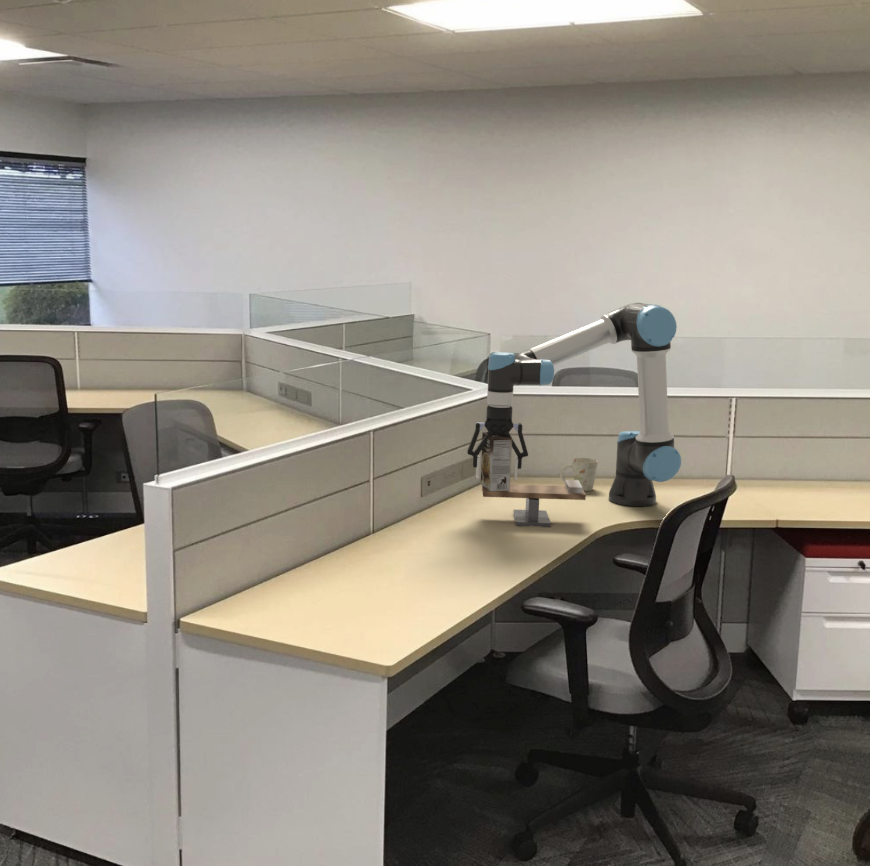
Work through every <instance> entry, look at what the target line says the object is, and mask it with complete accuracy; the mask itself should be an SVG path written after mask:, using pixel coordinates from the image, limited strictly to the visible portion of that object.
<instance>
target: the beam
mask: <svg viewBox="0 0 870 866" xmlns="http://www.w3.org/2000/svg"><path fill="white" fill-rule="evenodd" d="M481 491H482V497H483V498H507V499H508V498H510V499H511V498H512V499H513V498H514V499H526V498H536V499H539V500H541V499H542V500H543V499H545V500H567V501H568V500H571V501H572V500H575V501H586V497H587V494H586V491H583V489H582V486H581V484H580V482H579V480H574V479H566V480H565V482H564V485H550V484H549V485H546V484H544V485H543V484H514V483H513V484H511V483H510V490H509V491H492V492H491V491H489V490H488V489H486V488H485V487H484V486H482V485H481Z"/></svg>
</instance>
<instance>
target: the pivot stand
mask: <svg viewBox="0 0 870 866" xmlns="http://www.w3.org/2000/svg"><path fill="white" fill-rule="evenodd" d="M512 512H513V513H514V514H513V518H514V521H515V526H516V527H529V526H541V527H540V528H551V525H552V522H551V521H550V517H549V514H548V512H547V510H542V509H541V510H540V499H536V498H525V509H513V511H512Z"/></svg>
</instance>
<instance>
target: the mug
mask: <svg viewBox="0 0 870 866" xmlns="http://www.w3.org/2000/svg"><path fill="white" fill-rule="evenodd" d="M598 464H599V461H598V460H597V459H595V458H590V457H576V458H573V459H572V464H571V463H570V464H569V463H568V464H565V465H564V464H563V466H562V467H561V469H560V470H559V477H560V479H561V481H562V482H563V483H565V480H567V479H566V478H565V476H564V472H565V470H566V469H573V471H572V472H573V480H579V482H580V484H581V486H582V489H583V491H584V492H590V491H593V489H594V484H595V479H596V473H597V469H598V468H597V467H598Z"/></svg>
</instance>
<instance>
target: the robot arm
mask: <svg viewBox="0 0 870 866" xmlns="http://www.w3.org/2000/svg"><path fill="white" fill-rule="evenodd" d="M676 333H677V321H676V318H675V316H674V314H673V313H672V312H671V311H670V310H669V309H668V308H665V307H663V306H661V305H659V304H658V305H657V304H651V303H650V304H649V303H642V302H633V303H630V304H626V305H624V306H621V307H619V308H616V309H614V310H612V311H610V312H608V313H607V312H606V313H605V314H603V315H601V316H600V319H599V320H597V321H594V322H591V323H590V324H587V325H584V326H582V327H580V328H578V329H576V330H572V331H570V332H568V333H565V334H563V335H561V336H558V337H555V338H553V339H551V340H548V341H546V342H544V343H541V344H539V345H536V346H533V347H531V348H529V349H527V350H524V351H521V352H506V351H495V352H492V353H490V355H489V359H488V364H487V365H488V367H487V370H488V371H487V373H488V374H487V392H486V393H487V395H486V396H487V397H486V404H487V406H486V418H485V421H484V422H479V421H476V422H475V430H474V432H473V435H472V438H471V440H470V443H469V445H468V448H467V451H466V452H467V455H470V456H471V457H472V466H473V468H476V473H475V474H476V475H475V477H476V480H480V469H481V465H480V464H481V463H480V462H481V457H480V453H482V449H483V447H484V446H485V444H486V443H487V438H488V436H492V435H498V436H506V437H511V438H512V449H513V451H514V453H515V455H516V456H514V467H513V468H514V469H513V479H514V481H518V470H520V469H522V463H523V462H522V461H523V460H522V459H523V458H524V457H526V458H527V457H528V456H529V451H528V449H527V446H526V441H525V439H524V435H523V424H522V423H521V422H518V423H514V422H513V407H512V406H513V404H514V386H547V385H550V384H551V383H553V380H554V377H555V367H554V366H555V365H558V364H560V363H562V362H565V361H567V360H570V359H572V358H575V357H577V356H579V355H580V356H581V355H582V354H584V353H587V352H589V351H591V350H594V349H597V348H599V347H602V346H604V345H607V344H612V345H615V344H617V343H621V342H623V341H624V342H625V341H630V343H631V347H630V348H631V352H632V353H633V354H634V355H635V356H636V364H637V365H636V367H637V368H636V369H637V388H638V392H637V393H638V409H639V411H638V413H639V430H627V431H626V430H625V431H620V432H619V434H618V437H617V442H616V443H617V446H616V449H617V450H616V463H615V476H614V479H613V482H612V484H611V487H610V489H609V492H608V501H610V502H611V503H614V504H617V505H621V506H628V507H650V506H653V505H655V504H656V502H657V493H656V490H655V486H654V482H657V483H662V482H663V483H664V482H667V481H670V480H672V479H673V478H674V477H675V476H676V474H678V473H679V471H680V469H681V465H682V456H681V454H680V452H679V451H678V450H677V449H676V448H675V436H674V434H672V433H671V432H670V430H669V408H668V405H669V404H668V380H667V378H668V377H667V353H669V351H670V350H671V342H672V341H673V339H674V338H675V336H676ZM484 427H485V429H486V432H487V433H486V434H487V435H486V436H485V437H484V438H483V440H482V439H481V441H480V443H478V445H477V446H476V442H477V440H478V438H479V435H480V433H481V431H482V430H483V428H484ZM512 429H515V432H517V434H518V439H519V442H520V443H519V444H520V445H521V449H522V451H520V450H519V448H518V446H517V445H516V442H515V440H514V439H513V437H512V436H511V434H510V432H511V431H512ZM475 446H476V448H475V450H474V447H475ZM653 481H654V482H653Z"/></svg>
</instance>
